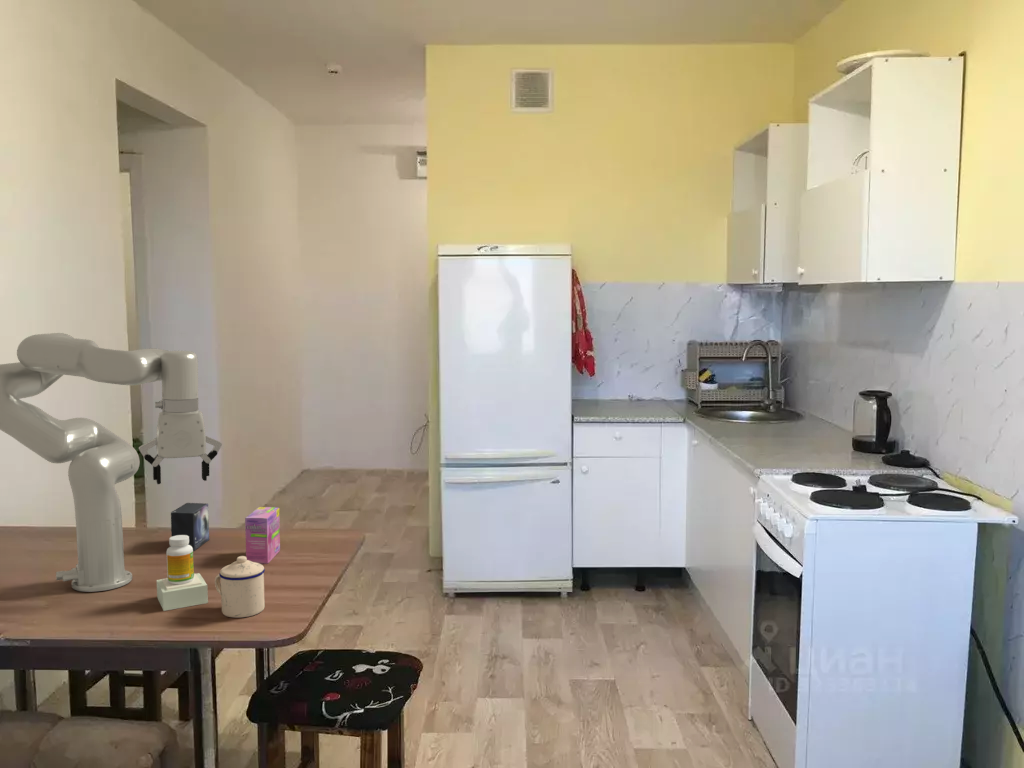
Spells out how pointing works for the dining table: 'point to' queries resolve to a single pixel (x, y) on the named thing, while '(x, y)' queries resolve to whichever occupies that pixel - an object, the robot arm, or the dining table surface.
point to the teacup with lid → (241, 588)
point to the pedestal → (182, 593)
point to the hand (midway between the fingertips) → (181, 481)
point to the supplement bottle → (180, 560)
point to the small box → (191, 523)
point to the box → (262, 534)
